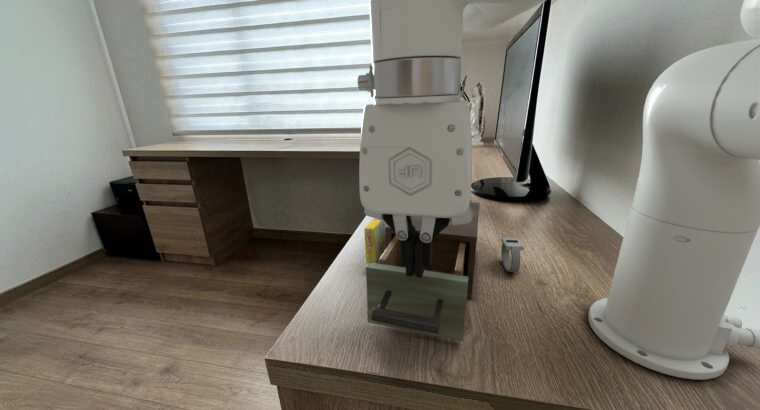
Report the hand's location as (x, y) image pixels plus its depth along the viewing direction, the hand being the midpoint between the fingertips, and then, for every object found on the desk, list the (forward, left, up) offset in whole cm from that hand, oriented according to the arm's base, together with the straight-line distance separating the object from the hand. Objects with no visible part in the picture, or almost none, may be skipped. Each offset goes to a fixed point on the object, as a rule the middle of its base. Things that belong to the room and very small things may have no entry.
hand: (416, 270), depth 33 cm
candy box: (+10, -22, -11) cm, 26 cm away
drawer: (+1, -6, -9) cm, 11 cm away
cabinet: (+1, -19, -10) cm, 21 cm away
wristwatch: (-11, -22, -11) cm, 27 cm away
